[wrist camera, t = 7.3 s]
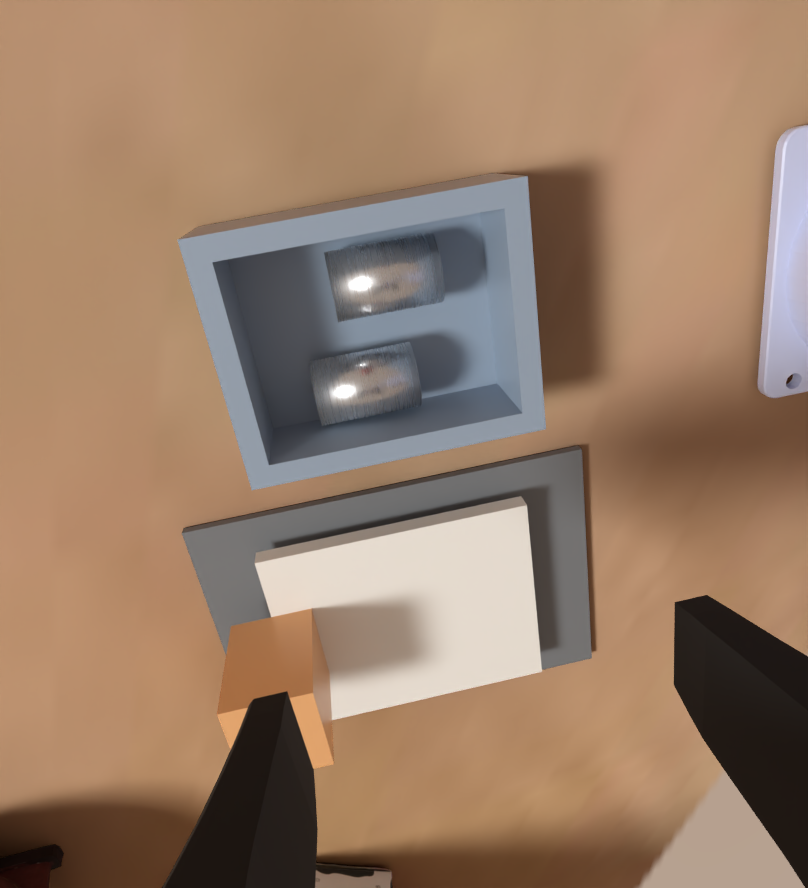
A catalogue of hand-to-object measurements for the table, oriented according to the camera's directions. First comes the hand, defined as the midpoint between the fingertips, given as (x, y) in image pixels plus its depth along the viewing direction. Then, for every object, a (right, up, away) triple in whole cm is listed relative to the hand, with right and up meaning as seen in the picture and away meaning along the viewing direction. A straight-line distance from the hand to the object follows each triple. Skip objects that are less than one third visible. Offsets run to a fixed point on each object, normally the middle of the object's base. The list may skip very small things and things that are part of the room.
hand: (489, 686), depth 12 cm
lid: (-1, -1, +10) cm, 10 cm away
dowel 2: (-3, +7, +7) cm, 10 cm away
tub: (-3, +8, +7) cm, 11 cm away
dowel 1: (-2, +9, +6) cm, 11 cm away
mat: (-1, -1, +11) cm, 11 cm away
